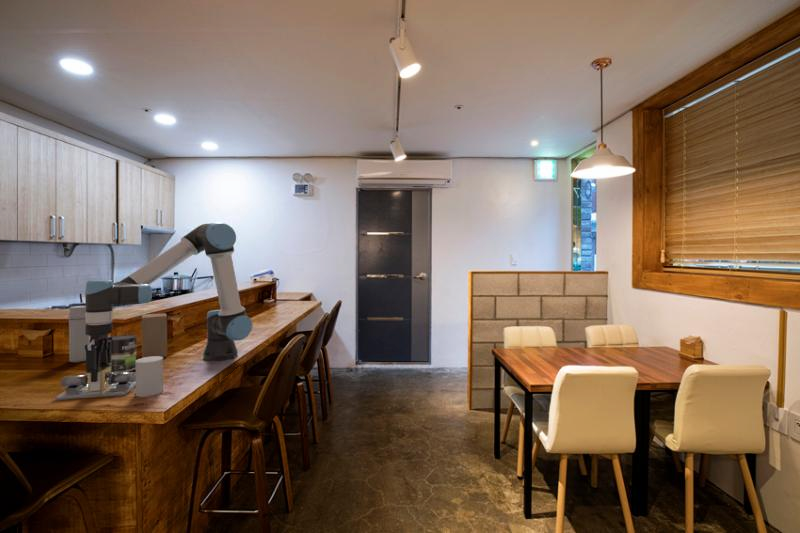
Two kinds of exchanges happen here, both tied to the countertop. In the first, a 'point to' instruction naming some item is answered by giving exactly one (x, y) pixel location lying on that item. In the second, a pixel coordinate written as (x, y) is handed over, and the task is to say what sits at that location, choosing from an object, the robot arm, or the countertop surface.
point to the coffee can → (123, 353)
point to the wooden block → (154, 335)
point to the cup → (149, 376)
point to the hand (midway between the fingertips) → (99, 387)
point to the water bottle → (77, 334)
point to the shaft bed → (79, 389)
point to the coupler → (102, 378)
